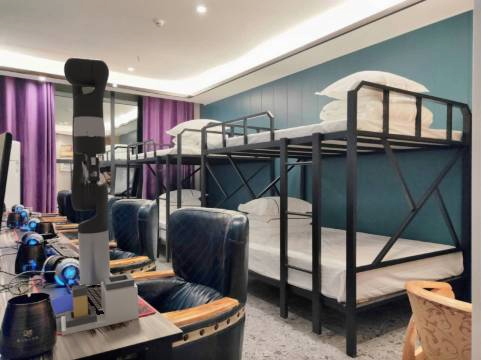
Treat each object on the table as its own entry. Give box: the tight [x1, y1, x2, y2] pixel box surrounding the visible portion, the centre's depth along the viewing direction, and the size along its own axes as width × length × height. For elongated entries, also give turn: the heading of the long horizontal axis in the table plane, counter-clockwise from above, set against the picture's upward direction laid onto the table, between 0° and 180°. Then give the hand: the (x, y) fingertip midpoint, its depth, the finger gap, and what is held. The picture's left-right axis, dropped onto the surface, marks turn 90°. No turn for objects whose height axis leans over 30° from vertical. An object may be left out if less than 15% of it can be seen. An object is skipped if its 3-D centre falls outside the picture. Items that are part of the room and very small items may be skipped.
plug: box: [71, 284, 89, 318], centre depth 83 cm, size 3×3×8 cm
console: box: [60, 272, 140, 336], centre depth 85 cm, size 9×17×10 cm, turn 118°
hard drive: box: [50, 293, 73, 318], centre depth 95 cm, size 2×8×12 cm
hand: (92, 197), depth 90 cm, fingers open, 8 cm apart
